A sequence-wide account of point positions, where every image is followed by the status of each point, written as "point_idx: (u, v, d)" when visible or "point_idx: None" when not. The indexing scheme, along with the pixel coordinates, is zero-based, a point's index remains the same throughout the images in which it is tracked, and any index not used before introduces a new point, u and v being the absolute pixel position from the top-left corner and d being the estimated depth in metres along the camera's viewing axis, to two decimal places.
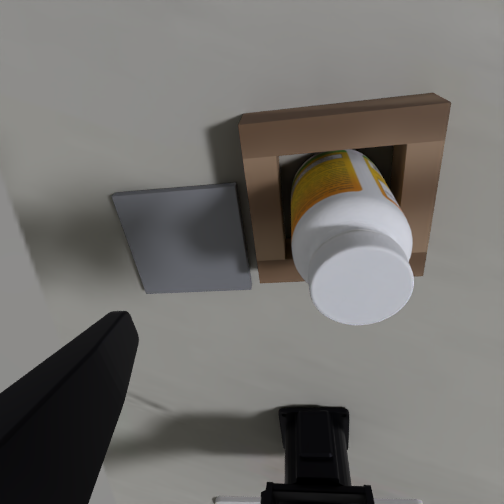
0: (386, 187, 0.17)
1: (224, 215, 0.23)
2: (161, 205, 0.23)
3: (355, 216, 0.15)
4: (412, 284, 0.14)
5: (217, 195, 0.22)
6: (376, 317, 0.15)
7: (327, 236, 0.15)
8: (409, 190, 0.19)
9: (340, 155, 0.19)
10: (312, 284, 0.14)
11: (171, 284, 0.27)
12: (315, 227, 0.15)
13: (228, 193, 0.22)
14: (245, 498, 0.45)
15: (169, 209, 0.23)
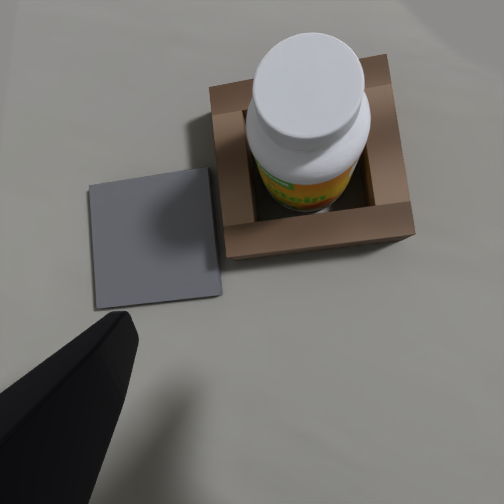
0: None
1: (195, 198, 0.23)
2: (134, 191, 0.23)
3: None
4: (361, 71, 0.13)
5: (190, 176, 0.23)
6: (331, 121, 0.13)
7: None
8: (371, 132, 0.20)
9: None
10: (254, 85, 0.13)
11: (127, 292, 0.23)
12: None
13: (200, 174, 0.23)
14: None
15: (141, 195, 0.23)
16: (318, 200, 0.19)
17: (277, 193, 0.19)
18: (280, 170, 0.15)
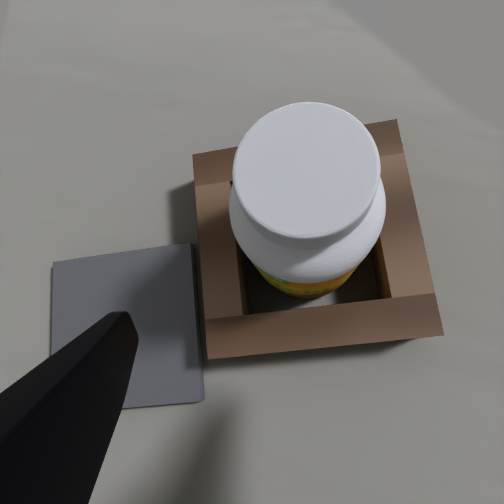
0: None
1: (175, 279, 0.19)
2: (104, 270, 0.20)
3: None
4: (376, 150, 0.10)
5: (170, 253, 0.19)
6: (338, 216, 0.09)
7: None
8: None
9: None
10: (235, 166, 0.10)
11: None
12: None
13: (182, 251, 0.19)
14: None
15: (112, 275, 0.20)
16: (321, 291, 0.15)
17: (270, 281, 0.16)
18: (272, 267, 0.12)
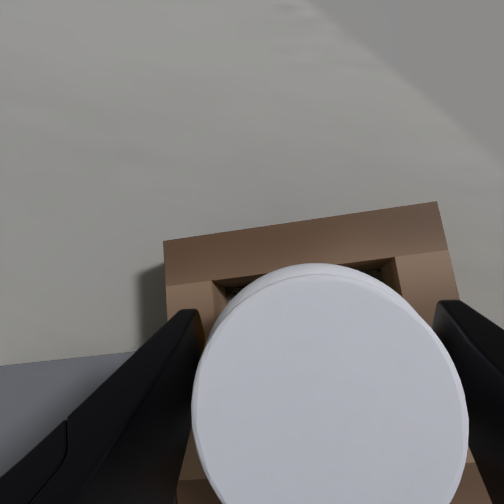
0: None
1: None
2: (53, 382, 0.15)
3: None
4: (459, 388, 0.05)
5: None
6: None
7: None
8: None
9: None
10: (195, 396, 0.05)
11: None
12: None
13: None
14: None
15: (62, 389, 0.15)
16: None
17: None
18: None
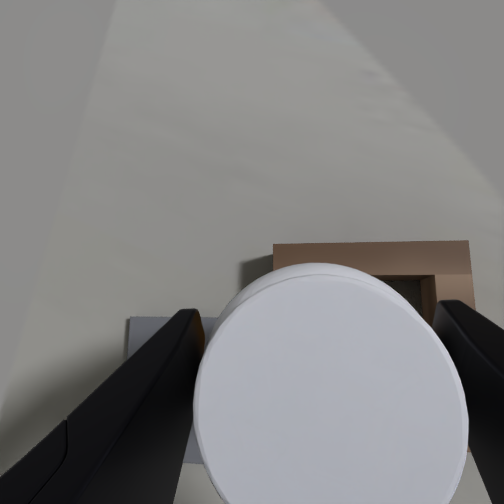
0: None
1: None
2: None
3: None
4: (459, 388, 0.05)
5: None
6: None
7: None
8: None
9: None
10: (198, 395, 0.06)
11: None
12: None
13: None
14: None
15: None
16: None
17: None
18: None
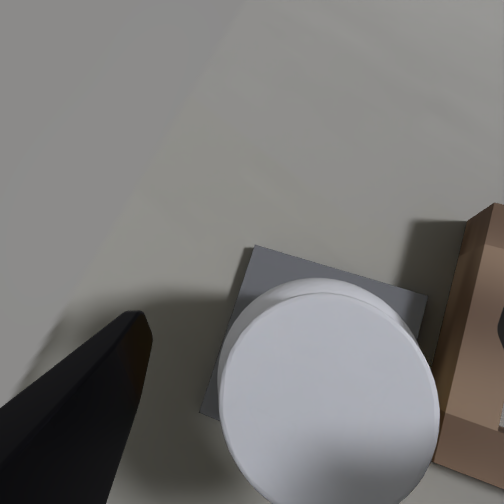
0: None
1: None
2: None
3: None
4: (432, 386, 0.06)
5: (398, 298, 0.16)
6: (376, 493, 0.06)
7: None
8: None
9: None
10: (222, 389, 0.07)
11: None
12: (248, 321, 0.09)
13: (414, 302, 0.16)
14: None
15: None
16: None
17: None
18: None
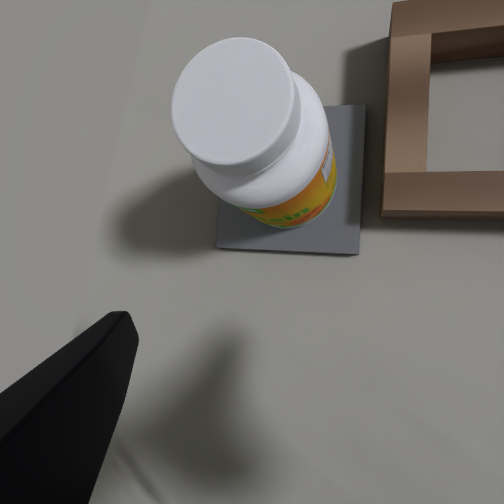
0: None
1: (345, 139, 0.19)
2: None
3: None
4: (285, 66, 0.10)
5: (343, 113, 0.20)
6: (265, 134, 0.10)
7: None
8: None
9: None
10: (172, 117, 0.11)
11: (252, 235, 0.21)
12: None
13: (356, 112, 0.19)
14: None
15: None
16: (302, 214, 0.17)
17: (256, 218, 0.17)
18: (238, 199, 0.13)
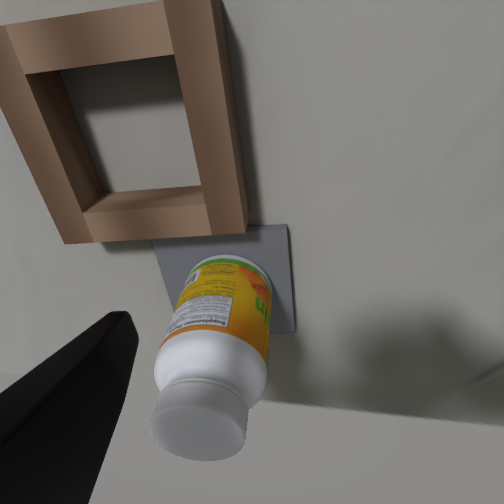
0: None
1: (185, 249, 0.22)
2: None
3: None
4: (165, 410, 0.14)
5: (163, 253, 0.22)
6: (217, 418, 0.14)
7: None
8: (76, 56, 0.15)
9: None
10: (214, 460, 0.16)
11: (280, 308, 0.23)
12: None
13: (159, 244, 0.22)
14: None
15: None
16: (260, 301, 0.19)
17: None
18: (262, 389, 0.17)
